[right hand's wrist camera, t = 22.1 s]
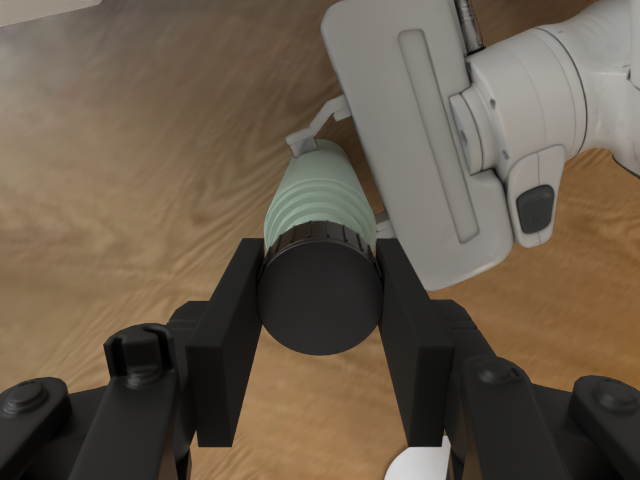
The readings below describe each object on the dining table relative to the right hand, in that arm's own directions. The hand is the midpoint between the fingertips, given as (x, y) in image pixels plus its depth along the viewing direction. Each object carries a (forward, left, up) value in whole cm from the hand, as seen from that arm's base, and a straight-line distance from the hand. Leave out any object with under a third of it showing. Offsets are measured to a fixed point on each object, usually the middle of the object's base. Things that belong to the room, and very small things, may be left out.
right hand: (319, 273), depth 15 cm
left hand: (0, -1, -15) cm, 15 cm away
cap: (0, 0, +2) cm, 2 cm away
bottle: (0, 0, -21) cm, 21 cm away
